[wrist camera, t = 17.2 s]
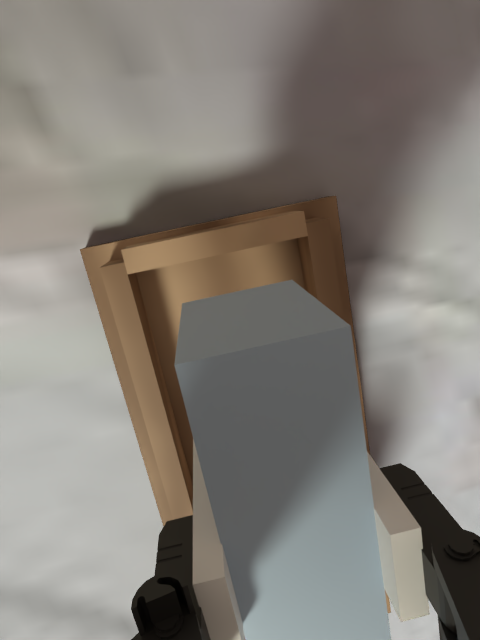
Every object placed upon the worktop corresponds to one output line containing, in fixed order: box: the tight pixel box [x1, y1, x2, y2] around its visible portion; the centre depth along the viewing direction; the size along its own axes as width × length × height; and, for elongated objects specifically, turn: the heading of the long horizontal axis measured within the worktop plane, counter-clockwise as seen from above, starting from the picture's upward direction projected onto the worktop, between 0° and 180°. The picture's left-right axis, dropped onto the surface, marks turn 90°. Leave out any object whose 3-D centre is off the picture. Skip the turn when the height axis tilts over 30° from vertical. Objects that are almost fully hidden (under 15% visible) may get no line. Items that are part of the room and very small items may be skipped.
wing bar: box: [174, 280, 391, 640], centre depth 14 cm, size 4×12×6 cm, turn 11°
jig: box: [80, 196, 391, 638], centre depth 26 cm, size 14×30×4 cm, turn 11°
